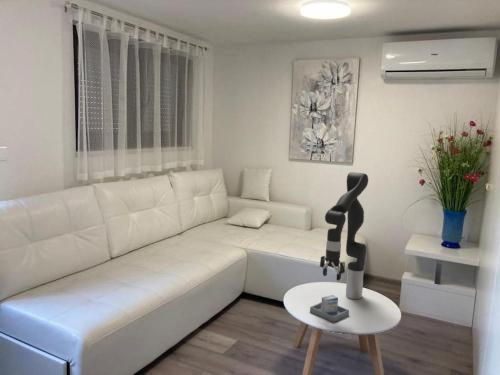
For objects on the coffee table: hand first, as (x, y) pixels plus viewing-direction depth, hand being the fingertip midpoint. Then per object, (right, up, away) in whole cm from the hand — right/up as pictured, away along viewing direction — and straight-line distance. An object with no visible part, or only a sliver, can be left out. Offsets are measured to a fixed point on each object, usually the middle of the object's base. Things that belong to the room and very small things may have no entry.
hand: (331, 277), depth 214 cm
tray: (-1, -20, +2) cm, 20 cm away
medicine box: (-1, -20, +3) cm, 20 cm away
